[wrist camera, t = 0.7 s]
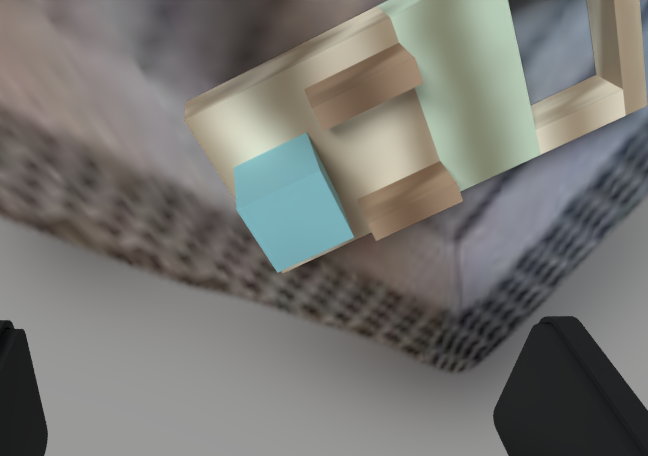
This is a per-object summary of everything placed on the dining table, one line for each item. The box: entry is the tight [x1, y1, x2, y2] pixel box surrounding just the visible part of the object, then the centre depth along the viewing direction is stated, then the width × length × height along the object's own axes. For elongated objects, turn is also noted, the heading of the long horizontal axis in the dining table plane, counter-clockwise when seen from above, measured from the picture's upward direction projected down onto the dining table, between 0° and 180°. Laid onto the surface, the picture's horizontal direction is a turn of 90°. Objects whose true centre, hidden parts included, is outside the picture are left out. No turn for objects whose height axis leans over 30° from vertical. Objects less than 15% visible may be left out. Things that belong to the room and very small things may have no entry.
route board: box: [184, 0, 647, 273], centre depth 34 cm, size 27×13×6 cm, turn 114°
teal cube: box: [234, 132, 354, 272], centre depth 33 cm, size 5×5×5 cm
